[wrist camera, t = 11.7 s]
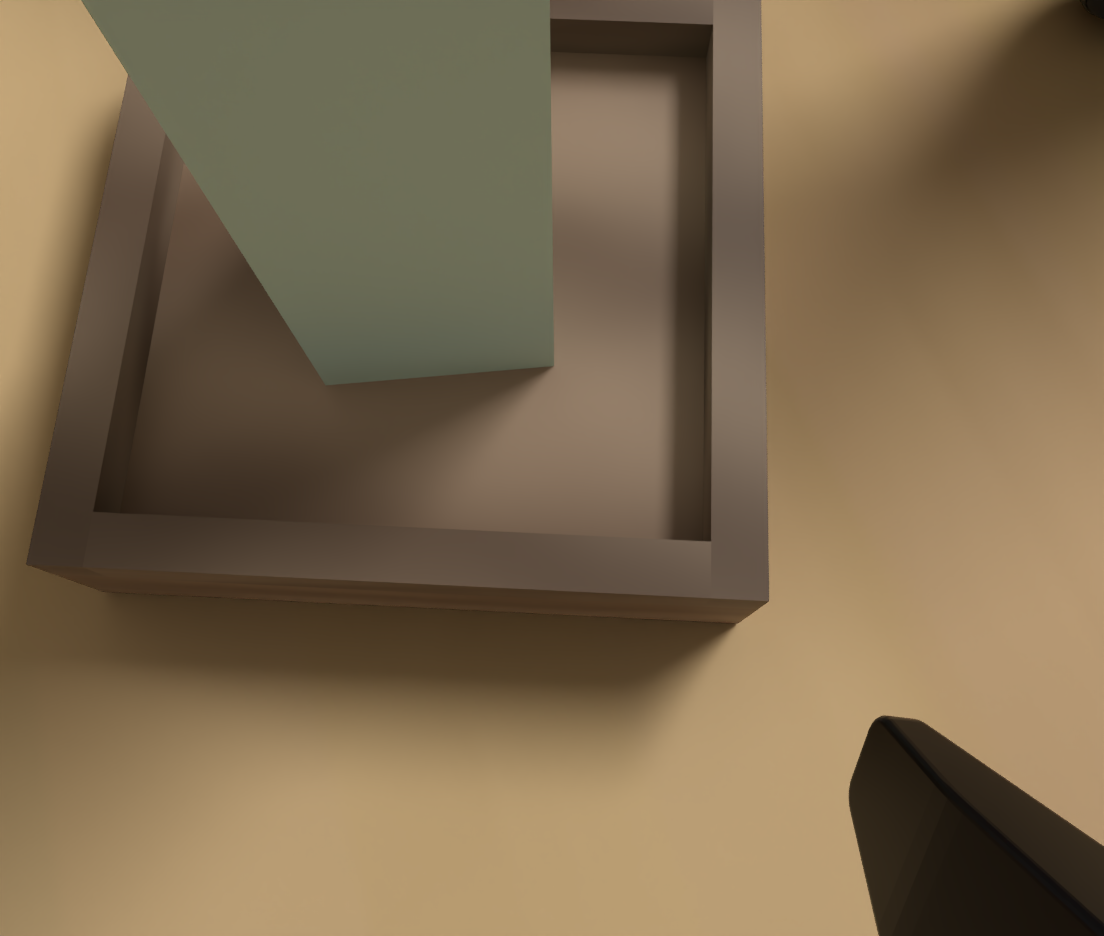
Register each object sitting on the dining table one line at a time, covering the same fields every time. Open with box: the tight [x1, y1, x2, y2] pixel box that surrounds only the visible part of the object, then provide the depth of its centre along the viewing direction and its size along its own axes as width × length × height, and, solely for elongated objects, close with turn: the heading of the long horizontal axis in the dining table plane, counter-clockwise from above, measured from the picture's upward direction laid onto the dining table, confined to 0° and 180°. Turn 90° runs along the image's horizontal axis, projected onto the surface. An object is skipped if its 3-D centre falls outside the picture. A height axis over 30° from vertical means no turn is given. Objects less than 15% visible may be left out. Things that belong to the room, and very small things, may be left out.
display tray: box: [26, 0, 769, 623], centre depth 20 cm, size 13×13×3 cm
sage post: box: [82, 0, 554, 385], centre depth 13 cm, size 4×4×13 cm
